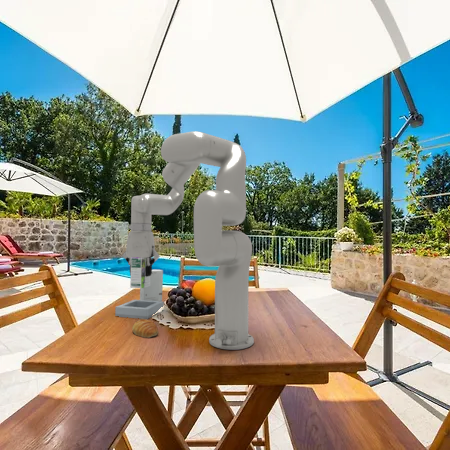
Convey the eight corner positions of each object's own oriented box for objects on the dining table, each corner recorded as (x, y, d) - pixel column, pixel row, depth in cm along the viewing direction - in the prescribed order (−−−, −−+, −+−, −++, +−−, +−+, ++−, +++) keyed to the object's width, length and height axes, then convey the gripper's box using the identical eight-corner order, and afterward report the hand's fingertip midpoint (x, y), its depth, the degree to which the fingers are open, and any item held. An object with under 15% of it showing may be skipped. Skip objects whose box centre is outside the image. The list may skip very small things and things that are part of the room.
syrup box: (129, 287, 119) (130, 249, 120) (137, 285, 125) (138, 248, 125) (143, 288, 118) (144, 249, 118) (150, 286, 124) (151, 248, 124)
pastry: (164, 336, 96) (164, 323, 96) (143, 341, 92) (143, 327, 92) (149, 328, 103) (149, 316, 103) (129, 333, 99) (129, 320, 99)
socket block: (147, 319, 113) (147, 309, 113) (115, 316, 117) (115, 306, 117) (163, 310, 126) (163, 301, 126) (134, 308, 129) (134, 299, 129)
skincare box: (143, 307, 131) (144, 271, 131) (139, 304, 136) (139, 269, 136) (163, 305, 135) (163, 269, 136) (157, 302, 140) (158, 268, 141)
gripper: (115, 228, 121) (115, 275, 120) (157, 228, 116) (156, 278, 116) (126, 228, 128) (126, 273, 128) (166, 228, 123) (165, 275, 123)
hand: (140, 275), depth 122 cm, fingers closed on syrup box, 5 cm apart
